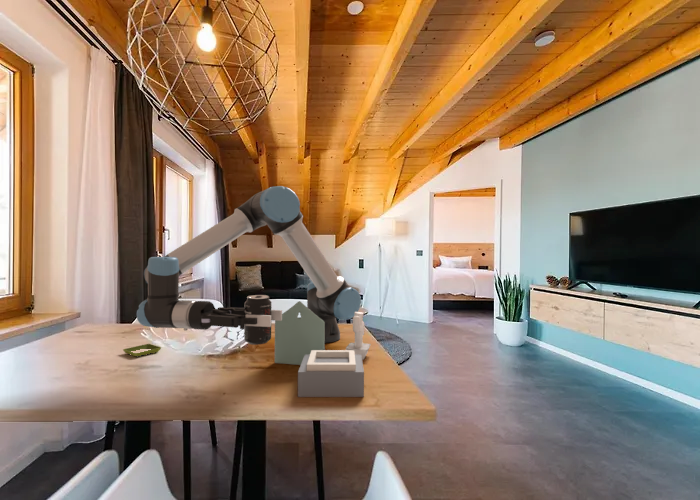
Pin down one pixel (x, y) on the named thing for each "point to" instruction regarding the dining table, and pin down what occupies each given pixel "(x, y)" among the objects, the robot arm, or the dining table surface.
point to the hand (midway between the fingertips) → (276, 318)
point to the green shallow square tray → (146, 346)
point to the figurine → (358, 336)
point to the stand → (331, 374)
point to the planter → (298, 335)
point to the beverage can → (257, 307)
